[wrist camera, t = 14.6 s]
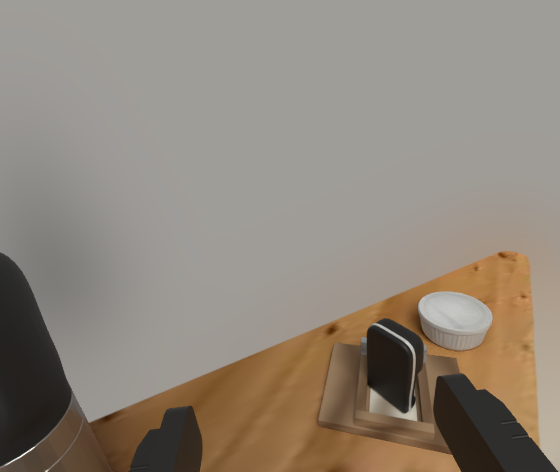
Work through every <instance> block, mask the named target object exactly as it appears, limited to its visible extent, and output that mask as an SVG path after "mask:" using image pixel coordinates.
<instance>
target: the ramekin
mask: <svg viewBox="0 0 560 472" xmlns="http://www.w3.org/2000/svg"><path fill="white" fill-rule="evenodd" d="M418 312H419V315H420V320H421V326H422V330H423V332H424V333H425V335H426V336H427V337H428V338H429V339H430V340H431V341H432V342H434V343H435V344H437V345H439V346H441V347H443V348H446V349H450V350H456V351H465V350H470V349H473V348H475V347H477V346H478V345H480V344H481V342H482V341H483V339H484V337H485V335H486V332H487V330H488V328H489V327H490V326H491V324H492V313H491V311H490V309H489V308H488V307H487V306H486V305H485V304H483V303H482V302H481V301H479V300H477V299H475V298H473V297H471V296H468V295H466V294H462V293H456V292H435V293H431V294H428V295H426V296H424V297H423V298H422V299H421V300H420V302H419V304H418Z"/></svg>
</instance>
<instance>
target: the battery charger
mask: <svg viewBox="0 0 560 472" xmlns="http://www.w3.org/2000/svg"><path fill="white" fill-rule="evenodd" d="M423 359H424V344H423V342H422V340H421V338H420V337H419V336H418V335H417V334H415V333H414V332H412V331H410V330H409V329H407V328H405V327H403V326H402V325H400V324H398V323H396V322H394V321H392V320H390V319H386V318H384V319H382V320H380V321H378V322H377V323H374V324H372V325H371V326H370V327H369V329H368V331H367V368H368V378H367V384H368V385H369V386H370V387H371V388H373V389H374V390H375V391H376V392H378V393H379V394H380V395H381V396H382V397H384V398H385V399H386V400H387V401H389V402H390V403H391V404H393V405H394V406H395V407H396V408H398V409H399V410H400V411H402V412H403V413H407V412H409V411H410V410H411V408H413V406H414V404H415V401H416V398H415V396H414V390H415V384H416V377H417V374H418V373H419V372H420V371H421V370H422V368H423Z"/></svg>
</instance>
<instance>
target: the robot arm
mask: <svg viewBox="0 0 560 472" xmlns="http://www.w3.org/2000/svg"><path fill="white" fill-rule="evenodd" d="M433 414H434V418H435V422H436V424H437V427H438V429H439V431H440V433H441V435H442V437H443V438H444V440H445V442H446V444H447V446H448V448H449V450H450V451H451V453H452V455H453V457H454V459H455V461H456V462H457V464H458V466H459V468H460V470H461V472H558V471H557V470H556V468H555V467H554V466H553V465H552V464H551V462H550V461H549V460H548V459H547V457H546V456H545V455H544V453H543V452H542V451H541V450H540V448H539V447H538V446H537V445H536V443H535V442H534V441H533V440H532V438H529V436H528V433H527V432H526V431H525V430H524V428H523V427H522V426H521V425H520V423H517V421H516V418H515V417H514V416H513V415H512V413H511V412H510V411H509V410H508V408H507V407H506V406H505V405H504V403H503V402H501V401H500V400H499V399H497V398H496V397H495V396H493V395H492V394H491V393H489V392H488V391H487V390H485V389H483V390H476V388H475V387H474V386H473V384H472V383H471V382H470V380H469V379H468V378H467V377H466V376H465V375H464V374H462V373H459V374H451V375H443V376H438V377H437V379H436V387H435V395H434V404H433ZM201 460H202V437H201V433H200V430H199V427H198V423H197V420H196V417H195V413H194V410H193V408H192V406H186V407H178V408H170V409H167V410H166V412H165V414H164V417H163V421H162V424H161V427H160V429H154V430H150V431H149V432H148V433H147V435H146V436H145V437H144V439H143V440H142V442H141V443H140V444H139V446H138V447H137V450H136V453H135V455H134V458H133V461H132V464H131V469H130V471H129V472H200V466H201ZM0 472H113V471H112V469H111V467H110V465H109V463H108V461H107V459H106V457H105V455H104V453H103V451H102V449H101V447H100V445H99V443H98V441H97V439H96V437H95V435H94V433H93V431H92V429H91V427H90V425H89V423H88V421H87V419H86V417H85V415H84V413H83V411H82V409H81V407H80V405H79V403H78V402H77V400H76V398H75V395H74V393H73V391H72V389H71V387H70V385H69V384H68V381H67V379H66V377H65V374H64V370H63V367H62V364H61V361H60V358H59V355H58V352H57V350H56V348H55V345H54V343H53V341H52V339H51V337H50V335H49V332H48V330H47V327H46V325H45V323H44V320H43V318H42V315H41V312H40V310H39V307H38V305H37V302H36V299H35V297H34V294H33V292H32V290H31V288H30V285H29V283H28V282H27V280H26V278H25V276H24V274H23V272H22V271H21V270H20V268H19V267H18V266H17V265H16V264H15V262H13V261H12V260H11V259H10V258H9V257H8V256H6V255H4V254H3V253H0Z"/></svg>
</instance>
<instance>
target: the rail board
mask: <svg viewBox="0 0 560 472" xmlns="http://www.w3.org/2000/svg"><path fill="white" fill-rule="evenodd" d="M426 353H427V348H426V345H424V359H423V368H422V370H421V371H420V372H419V373H418V374H417V377H416V384H415V390H414V396H415V398H416V401H415V404H414V406H413V408H411V410H410V411H409V412H407V413H403V412H402V411H400V410H399V409H398V408H396V407H395V406H394V405H393V404H391V403H390V402H389V401H387V400H386V399H385V398H384V397H382V396H381V395H380V394H379V393H378V392H376V391H375V390H374V389H373V388H371V387H370V386H369V385H368V384H367V378H368V368H367V338H366V337H362V338H361V346H356V345H349V344H341V343H334V347H333V352H332V357H331V362H330V367H329V371H328V376H327V381H326V386H325V390H324V395H323V400H322V405H321V410H320V414H319V419H318V423H319V426H320V427H325V428H329V429H334V430H339V431H343V432H348V433H353V434H358V435H362V436H367V437H372V438H377V439H381V440H386V441H391V442H395V443H400V444H405V445H410V446H414V447H419V448H424V449H428V450H433V451H438V452H443V453H447V454H452V453H451V451H450V450H449V448H448V446H447V444H446V442H445V440H444V438H443V437H442V435H441V433H440V431H439V429H438V427H437V424H436V422H435V418H434V414H433V404H434V395H435V387H436V379H437V377H438V376H443V375H451V374H459V373H460V372H459V368H458V364H457V360H456V358H450V357H443V356H435V355H427V354H426Z"/></svg>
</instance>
